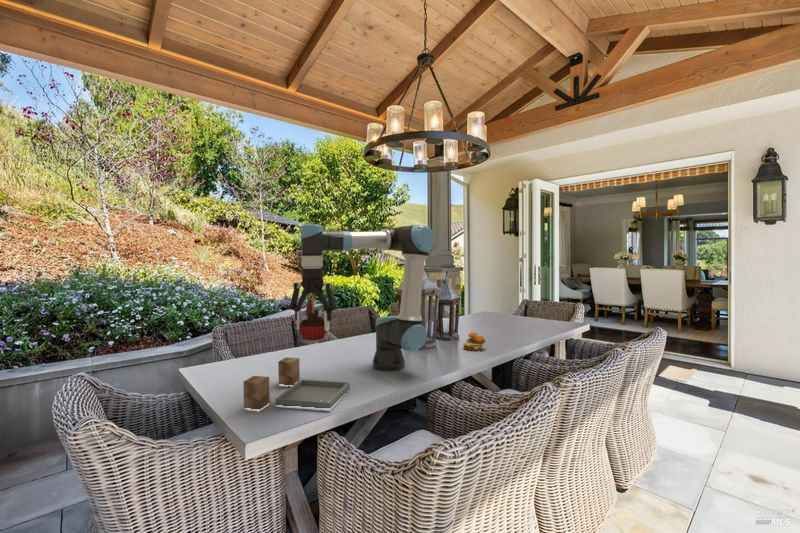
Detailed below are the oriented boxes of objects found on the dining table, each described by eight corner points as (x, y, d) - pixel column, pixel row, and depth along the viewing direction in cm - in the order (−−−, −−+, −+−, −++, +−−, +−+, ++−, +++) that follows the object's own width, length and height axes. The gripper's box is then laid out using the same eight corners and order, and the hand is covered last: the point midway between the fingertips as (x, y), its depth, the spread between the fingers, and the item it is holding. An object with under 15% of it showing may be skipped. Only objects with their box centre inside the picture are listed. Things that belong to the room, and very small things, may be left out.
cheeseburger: (461, 346, 211) (466, 328, 210) (481, 351, 210) (485, 333, 209) (462, 350, 201) (467, 332, 200) (482, 356, 200) (487, 337, 199)
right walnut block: (299, 382, 156) (299, 358, 155) (292, 387, 150) (292, 362, 149) (286, 381, 157) (285, 357, 156) (278, 386, 151) (278, 361, 151)
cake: (323, 344, 132) (322, 293, 132) (296, 344, 133) (295, 293, 132) (329, 337, 143) (328, 289, 142) (305, 337, 143) (304, 289, 142)
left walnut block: (269, 405, 133) (269, 376, 133) (260, 412, 127) (259, 382, 127) (254, 403, 134) (253, 375, 134) (244, 410, 128) (243, 381, 128)
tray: (349, 389, 147) (349, 382, 147) (330, 411, 127) (330, 403, 127) (301, 386, 151) (301, 379, 151) (275, 407, 131) (275, 398, 131)
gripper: (345, 267, 138) (346, 328, 139) (288, 267, 143) (289, 326, 144) (338, 268, 131) (339, 332, 132) (278, 268, 135) (279, 330, 136)
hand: (313, 329), depth 138 cm, fingers closed on cake, 10 cm apart
